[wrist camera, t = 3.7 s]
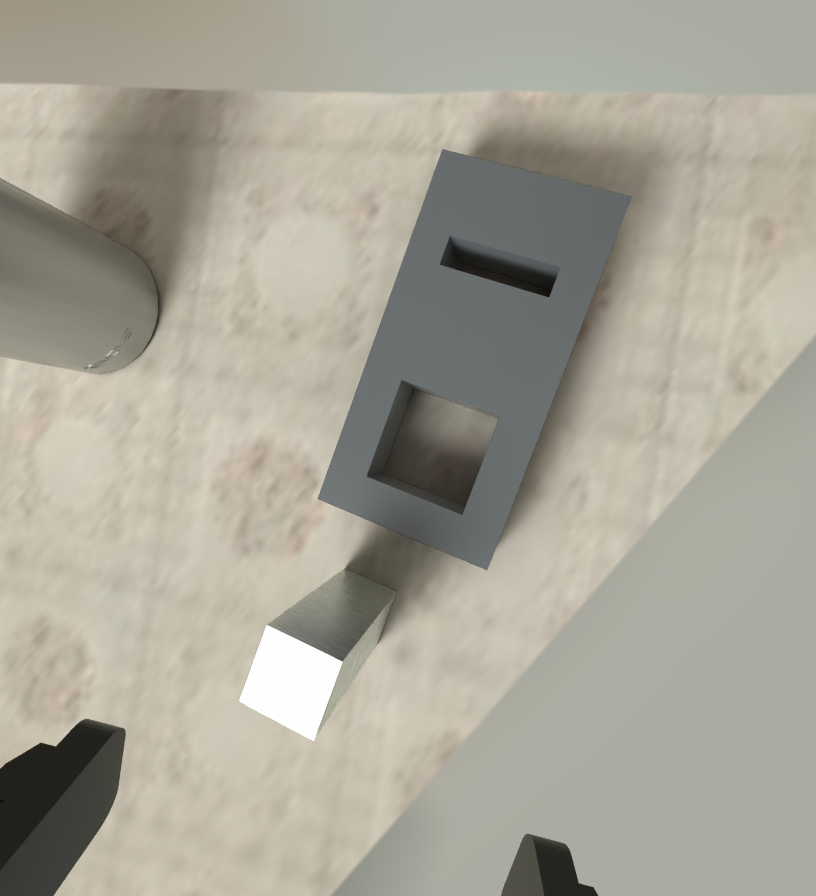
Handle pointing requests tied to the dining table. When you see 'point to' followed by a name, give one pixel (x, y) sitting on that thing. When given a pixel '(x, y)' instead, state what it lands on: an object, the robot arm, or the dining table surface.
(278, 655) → the grey square peg
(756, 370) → the dining table surface
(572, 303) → the holder
